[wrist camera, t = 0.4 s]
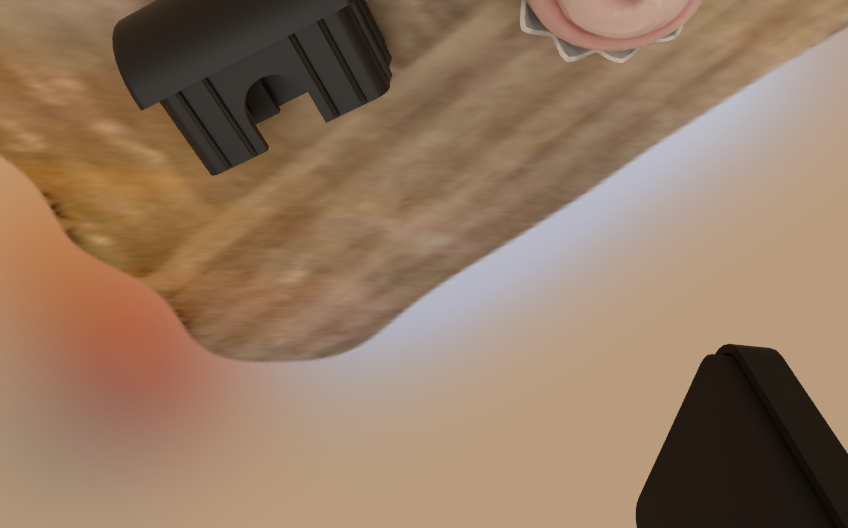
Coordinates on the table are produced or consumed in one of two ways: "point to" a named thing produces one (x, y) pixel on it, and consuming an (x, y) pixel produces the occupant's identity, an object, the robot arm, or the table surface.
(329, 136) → the table surface
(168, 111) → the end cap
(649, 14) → the cupcake
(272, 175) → the table surface
